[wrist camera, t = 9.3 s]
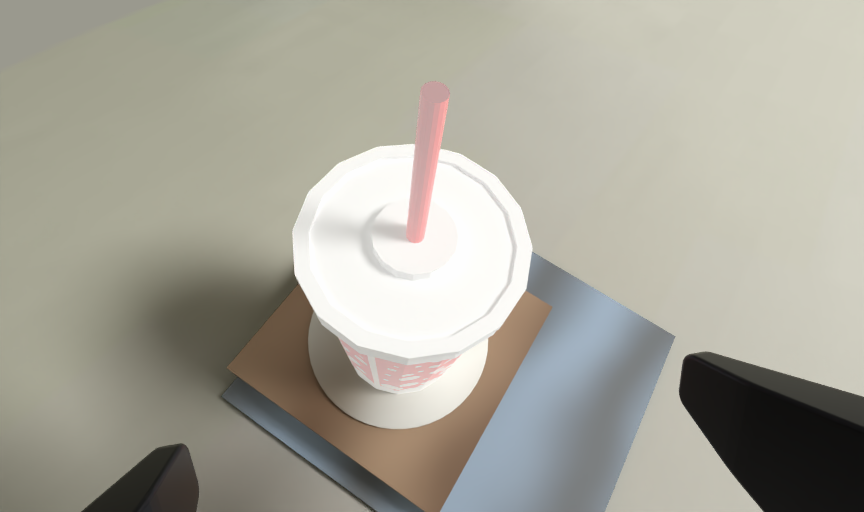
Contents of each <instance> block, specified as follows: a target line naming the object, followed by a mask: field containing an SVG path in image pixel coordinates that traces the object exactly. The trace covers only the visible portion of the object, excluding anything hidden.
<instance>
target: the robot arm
mask: <svg viewBox="0 0 864 512" xmlns="http://www.w3.org/2000/svg"><path fill="white" fill-rule="evenodd" d="M679 396H680V399H681V401H682V404H683V405H684V407H685V408H686V410H687V411H688V412H689V414H690V415H691V417H692V418H693V420H694V421H695V422H696V424H697V425H698V427H699V428H700V429H701V431H702V432H703V434H704V435H705V437H706V438H707V439H708V441H709V442H710V444H711V445H712V446H713V448H714V449H715V451H716V452H717V454H718V455H719V456H720V458H721V459H722V461H723V462H724V463H725V465H726V466H727V467H728V469H729V470H730V472H731V473H732V474H733V475H734V477H735V478H736V479H737V480H738V482H739V483H740V484H741V485H742V487H743V488H744V489H745V490H746V491H747V492H748V494H749V495H750V496H751V497H752V498H753V500H754V501H755V502H756V503H757V504H758V506H759V507H760V508H761V509H762V510H763V511H764V512H864V397H863V396H859V395H856V394H852V393H849V392H845V391H842V390H838V389H835V388H832V387H828V386H825V385H821V384H818V383H814V382H811V381H808V380H804V379H801V378H797V377H794V376H790V375H787V374H783V373H780V372H777V371H773V370H770V369H766V368H763V367H759V366H756V365H753V364H749V363H746V362H742V361H739V360H735V359H732V358H729V357H725V356H722V355H718V354H715V353H711V352H699V353H694V354H689V355H687V356H686V357H685V358H684V360H683V364H682V371H681V379H680V386H679ZM198 498H199V486H198V481H197V477H196V474H195V470H194V467H193V463H192V460H191V456H190V453H189V450H188V448H187V447H186V445H184V444H175V445H169V446H163V447H159V448H156V449H155V450H154V451H152V452H151V453H150V454H149V455H148V456H146V457H145V458H144V459H143V460H142V461H140V462H139V463H138V464H137V465H136V466H135V467H133V468H132V469H131V470H130V471H129V472H128V473H126V474H125V475H124V476H123V477H122V478H120V479H119V480H118V481H117V482H116V483H115V484H113V485H112V486H111V487H110V488H109V489H107V490H106V491H105V492H104V493H103V494H102V495H100V496H99V497H98V498H97V499H96V500H94V501H93V502H92V503H91V504H90V505H89V506H87V507H86V508H85V509H84V510H83V511H82V512H196V510H197V504H198Z"/></svg>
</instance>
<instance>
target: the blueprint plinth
mask: <svg viewBox="0 0 864 512" xmlns="http://www.w3.org/2000/svg"><path fill="white" fill-rule="evenodd" d="M674 338H675V336H674V335H672V334H670V333H668V332H667V331H665V330H663V329H662V328H660V327H658V326H657V325H655V324H653V323H652V322H650V321H648V320H647V319H645V318H643V317H641V316H640V315H638V314H636V313H635V312H633V311H631V310H630V309H628V308H626V307H625V306H623V305H621V304H620V303H618V302H616V301H614V300H613V299H611V298H609V297H608V296H606V295H604V294H603V293H601V292H599V291H598V290H596V289H594V288H593V287H591V286H589V285H588V284H586V283H584V282H582V281H581V280H579V279H577V278H576V277H574V276H572V275H571V274H569V273H567V272H566V271H564V270H562V269H561V268H559V267H557V266H555V265H554V264H552V263H550V262H549V261H547V260H545V259H544V258H542V257H540V256H539V255H537V254H535V253H534V252H532V255H531V261H530V268H529V275H528V282H527V289H526V290H525V292H524V293H523V295H522V296H521V298H520V299H519V301H518V302H517V304H516V305H515V307H514V308H513V310H512V311H511V313H510V314H509V316H508V317H507V319H506V320H505V322H504V323H503V325H502V326H501V327H500V329H499V330H497V331H496V332H495V333H494V335H492V336H490V337H489V338H487V339H486V340H484V341H482V342H481V343H479V344H477V345H476V346H474V347H473V348H471V349H469V350H468V351H466V352H464V353H463V354H462V355H461V356H460V357H459V358H458V359H457V360H456V361H455V362H454V363H453V364H452V365H451V366H450V367H449V368H448V369H447V370H446V372H445V373H444V374H443V375H442V376H441V377H440V378H439V379H438V380H436V381H435V382H433V383H431V384H430V385H428V386H427V387H425V388H423V389H422V390H420V391H415V392H409V393H402V394H395V393H391V392H387V391H383V390H379V389H376V388H374V387H373V386H372V385H370V384H369V383H368V382H367V381H365V380H364V379H363V378H361V377H360V376H359V375H358V374H357V372H356V370H355V368H354V366H353V365H352V363H351V361H350V359H349V357H348V355H347V354H346V352H345V350H344V348H343V346H342V344H341V342H340V340H339V338H338V337H337V336H336V335H335V334H333V333H332V332H331V331H329V330H328V329H327V328H325V327H324V326H323V325H322V324H321V322H320V321H319V319H318V317H317V315H316V313H315V312H314V310H313V308H312V306H311V304H310V303H309V301H308V299H307V297H306V295H305V293H304V292H303V290H302V288H301V286H300V284H298V285H297V286H296V287H295V288H294V289H293V291H292V292H291V293H290V294H289V295H288V296H287V298H286V299H285V300H284V301H283V302H282V303H281V305H280V306H279V307H278V308H277V309H276V310H275V312H274V313H273V314H272V315H271V316H270V317H269V319H268V320H267V321H266V322H265V323H264V324H263V326H262V327H261V328H260V329H259V330H258V331H257V333H256V334H255V335H254V336H253V337H252V339H251V340H250V341H249V342H248V343H247V344H246V346H245V347H244V348H243V349H242V350H241V351H240V353H239V354H238V355H237V356H236V357H235V358H234V360H233V361H232V362H231V363H230V364H229V365H228V367H227V369H229V370H230V371H231V372H232V373H234V374H235V375H236V376H238V377H237V378H236V379H235V381H234V382H233V383H232V384H231V385H230V386H229V388H228V389H227V390H226V391H225V392H224V394H223V395H222V396H221V397H223V398H224V399H225V400H227V401H228V402H229V403H231V404H232V405H234V406H235V407H236V408H238V409H239V410H240V411H242V412H243V413H244V414H246V415H247V416H248V417H250V418H251V419H253V420H254V421H255V422H257V423H258V424H259V425H261V426H262V427H263V428H265V429H266V430H267V431H269V432H270V433H271V434H273V435H274V436H276V437H277V438H278V439H280V440H281V441H282V442H284V443H285V444H286V445H288V446H289V447H290V448H292V449H293V450H295V451H296V452H297V453H299V454H300V455H301V456H303V457H304V458H305V459H307V460H308V461H309V462H311V463H312V464H314V465H315V466H316V467H318V468H319V469H320V470H322V471H323V472H324V473H326V474H327V475H328V476H330V477H331V478H332V479H334V480H335V481H337V482H338V483H339V484H341V485H342V486H343V487H345V488H346V489H347V490H349V491H350V492H351V493H353V494H354V495H356V496H357V497H358V498H360V499H361V500H362V501H364V502H365V503H366V504H368V505H369V506H370V507H372V508H373V509H375V510H376V511H377V512H605V510H606V507H607V505H608V502H609V500H610V497H611V495H612V492H613V490H614V487H615V485H616V482H617V480H618V477H619V475H620V472H621V470H622V467H623V465H624V462H625V460H626V458H627V455H628V453H629V450H630V448H631V445H632V443H633V440H634V438H635V435H636V433H637V430H638V428H639V425H640V423H641V420H642V418H643V415H644V413H645V410H646V408H647V405H648V403H649V400H650V398H651V395H652V393H653V390H654V388H655V385H656V383H657V380H658V378H659V375H660V373H661V370H662V368H663V365H664V363H665V361H666V358H667V356H668V353H669V351H670V348H671V346H672V343H673V341H674Z"/></svg>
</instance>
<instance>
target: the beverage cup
mask: <svg viewBox="0 0 864 512" xmlns="http://www.w3.org/2000/svg"><path fill="white" fill-rule="evenodd" d="M449 96H450V92H449V89H448V88H447V86H446V85H444V84H443V83H440V82H436V81H432V82H428V83H425V84H424V85H423V86H422V88H421V91H420V101H419V111H418V121H417V131H416V140H415V144H408V145H394V146H381V147H375V148H373V149H371V150H368V151H366V152H364V153H361V154H359V155H357V156H354V157H352V158H349V159H347V160H345V161H342V162H340V163H338V164H337V165H336V166H335V167H334V168H333V169H332V170H331V171H330V172H329V173H328V174H327V175H326V176H325V177H324V178H322V179H321V180H320V181H319V182H318V183H317V184H316V185H315V186H314V187H313V188H312V189H311V190H310V191H309V192H308V194H307V197H306V199H305V201H304V204H303V206H302V209H301V211H300V213H299V216H298V218H297V221H296V223H295V225H294V228H293V230H292V233H293V253H294V272H295V276H296V279H297V281H298V282H299V284H300V286H301V288H302V290H303V292H304V293H305V295H306V297H307V299H308V301H309V303H310V304H311V306H312V308H313V310H314V312H315V313H316V315H317V317H318V319H319V321H320V322H321V324H322V325H323V326H324V327H325V328H327V329H328V330H329V331H331V332H332V333H333V334H335V335H336V336H337V337H338V338H339V340H340V342H341V344H342V346H343V348H344V350H345V352H346V354H347V355H348V357H349V359H350V361H351V363H352V365H353V366H354V368H355V370H356V372H357V374H358V375H359V376H360V377H361V378H363V379H364V380H365V381H367V382H368V383H369V384H370V385H372V386H373V387H374V388H376V389H379V390H383V391H387V392H391V393H395V394H402V393H409V392H415V391H420V390H422V389H423V388H425V387H427V386H428V385H430V384H431V383H433V382H435V381H436V380H438V379H439V378H440V377H441V376H442V375H443V374H444V373H445V372H446V370H447V369H448V368H449V367H450V366H451V365H452V364H453V363H454V362H455V361H456V360H457V359H458V358H459V357H460V356H461V355H462V354H463V353H464V352H466V351H468V350H469V349H471V348H473V347H474V346H476V345H477V344H479V343H481V342H482V341H484V340H486V339H487V338H489V337H490V336H492V335H494V333H495V332H496V331H497V330H499V329H500V327H501V326H502V325H503V323H504V322H505V320H506V319H507V317H508V316H509V314H510V313H511V311H512V310H513V308H514V307H515V305H516V304H517V302H518V301H519V299H520V298H521V296H522V295H523V293H524V292H525V290H526V289H527V282H528V275H529V268H530V261H531V255H532V248H533V247H532V244H531V240H530V237H529V233H528V230H527V226H526V223H525V220H524V216H523V213H522V209H521V207H520V206H519V205H518V203H517V202H516V201H515V200H514V198H513V197H512V196H511V195H510V193H509V192H508V191H507V189H506V188H505V187H504V186H503V184H502V183H501V182H500V181H499V179H498V178H497V177H496V176H495V175H494V174H492V173H490V172H489V171H487V170H486V169H484V168H482V167H481V166H479V165H478V164H476V163H474V162H473V161H471V160H470V159H468V158H466V157H465V156H463V155H462V154H459V153H455V152H451V151H447V150H443V149H440V147H441V141H442V135H443V130H444V124H445V118H446V113H447V107H448V101H449Z"/></svg>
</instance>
